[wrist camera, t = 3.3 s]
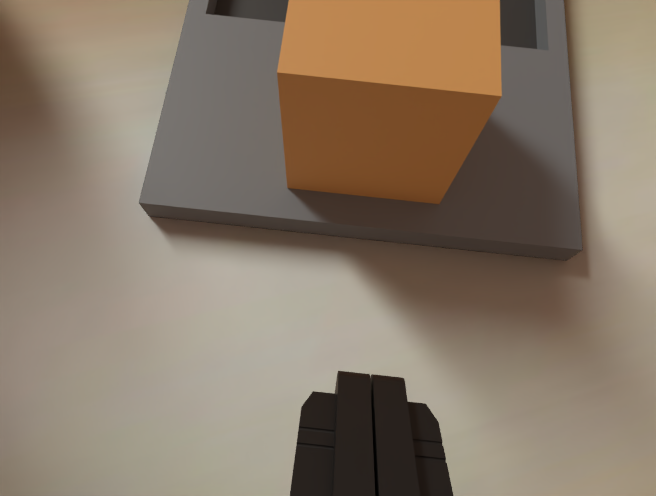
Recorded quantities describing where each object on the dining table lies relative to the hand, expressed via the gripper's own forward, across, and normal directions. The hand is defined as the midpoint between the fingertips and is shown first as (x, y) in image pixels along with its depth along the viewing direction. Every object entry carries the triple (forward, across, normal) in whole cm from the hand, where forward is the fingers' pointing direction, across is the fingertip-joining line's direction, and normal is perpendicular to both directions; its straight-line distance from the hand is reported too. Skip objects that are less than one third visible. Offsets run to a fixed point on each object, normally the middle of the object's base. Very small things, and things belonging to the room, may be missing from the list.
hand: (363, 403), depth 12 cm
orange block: (+16, 0, -3) cm, 16 cm away
